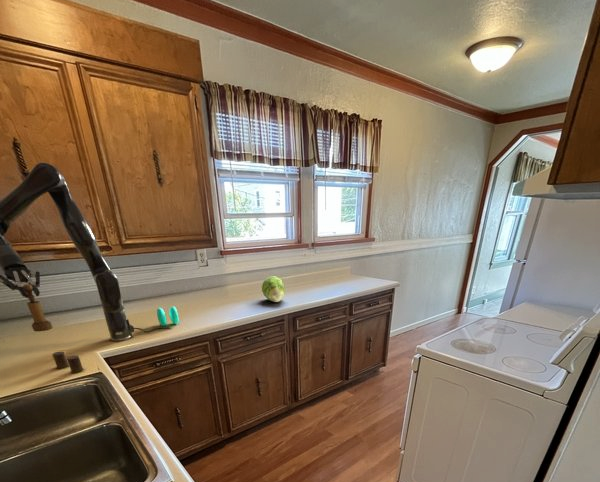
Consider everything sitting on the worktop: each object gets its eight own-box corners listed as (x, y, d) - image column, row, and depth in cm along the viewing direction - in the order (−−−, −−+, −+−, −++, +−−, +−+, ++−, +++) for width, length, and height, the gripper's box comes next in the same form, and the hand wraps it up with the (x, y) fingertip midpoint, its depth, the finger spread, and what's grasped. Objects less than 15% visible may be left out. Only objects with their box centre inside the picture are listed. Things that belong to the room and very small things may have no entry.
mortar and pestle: (29, 330, 133) (11, 285, 125) (45, 326, 138) (29, 282, 130) (40, 332, 131) (23, 286, 123) (56, 327, 136) (40, 283, 128)
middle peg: (67, 364, 136) (62, 350, 134) (70, 366, 134) (65, 353, 131) (56, 366, 134) (51, 353, 131) (58, 369, 131) (53, 355, 129)
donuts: (180, 325, 185) (177, 308, 181) (161, 328, 181) (158, 310, 176) (176, 321, 193) (173, 304, 188) (158, 324, 188) (155, 306, 184)
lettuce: (276, 313, 234) (260, 297, 225) (270, 300, 252) (256, 285, 243) (293, 297, 230) (278, 280, 221) (286, 285, 248) (272, 269, 239)
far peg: (81, 368, 133) (77, 354, 130) (84, 371, 130) (79, 357, 127) (70, 371, 130) (65, 357, 127) (73, 374, 128) (68, 359, 125)
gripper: (-15, 255, 120) (10, 292, 119) (30, 252, 130) (53, 286, 130) (-13, 268, 125) (10, 305, 125) (30, 265, 136) (52, 298, 135)
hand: (32, 295), depth 127 cm, fingers closed on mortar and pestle, 3 cm apart
